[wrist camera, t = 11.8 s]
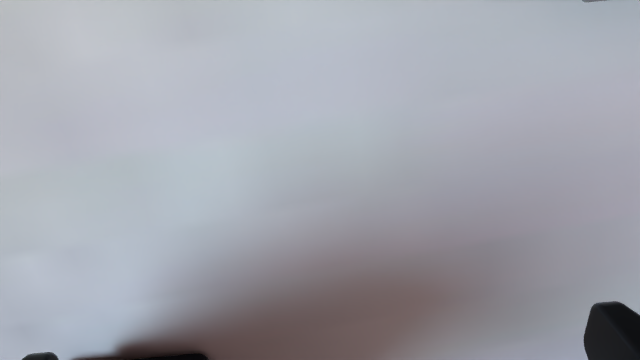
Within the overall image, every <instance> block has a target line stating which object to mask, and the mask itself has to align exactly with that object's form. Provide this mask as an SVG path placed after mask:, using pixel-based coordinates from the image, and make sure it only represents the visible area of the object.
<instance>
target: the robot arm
mask: <svg viewBox="0 0 640 360" xmlns="http://www.w3.org/2000/svg"><path fill="white" fill-rule="evenodd" d="M584 347H585V351H586V354H587V357H588V360H640V315H639V314H637V313H636V312H634V311H633V310H631V309H630V308H629V307H627V306H626V305H624V304H622V303H620V302H616V301H613V302H602V303H596V304H594V305H593V306H592V308H591V311H590V314H589V318H588V322H587V326H586V330H585V334H584ZM22 360H58V358H57V356H56V355H55V354H54V353H52V352H45V353H34V354H29V355H27V356H26V357H24V358H23V359H22ZM134 360H209V359H208V358H207V357H206V356H205V355H202V354H188V355H177V356H166V357H156V358H145V359H134Z"/></svg>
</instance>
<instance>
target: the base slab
mask: <svg viewBox="0 0 640 360" xmlns="http://www.w3.org/2000/svg"><path fill="white" fill-rule="evenodd" d="M582 1H583V2H594V1H605V0H582Z"/></svg>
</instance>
